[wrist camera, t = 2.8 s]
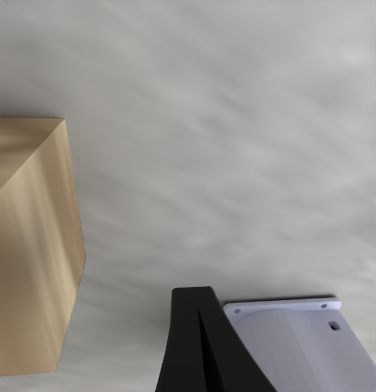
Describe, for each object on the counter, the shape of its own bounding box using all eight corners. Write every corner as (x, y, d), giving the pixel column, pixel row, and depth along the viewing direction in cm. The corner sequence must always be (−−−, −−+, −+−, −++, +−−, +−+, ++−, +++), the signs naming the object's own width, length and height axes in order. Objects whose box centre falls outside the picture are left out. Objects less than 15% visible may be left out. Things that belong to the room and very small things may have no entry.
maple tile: (64, 118, 14) (0, 188, 8) (86, 259, 18) (55, 372, 12) (-3, 116, 14) (-124, 188, 8) (36, 260, 18) (-20, 377, 12)
